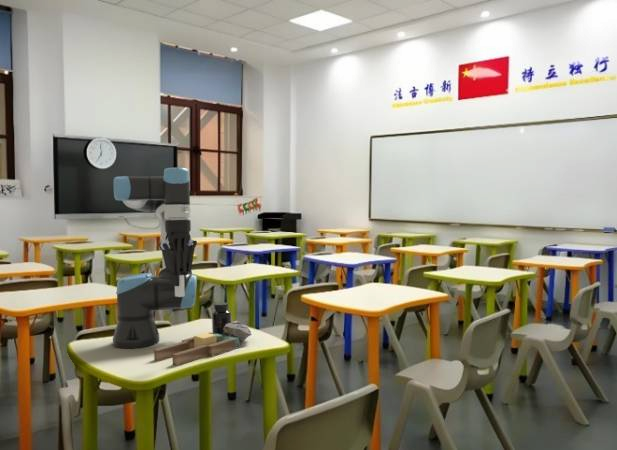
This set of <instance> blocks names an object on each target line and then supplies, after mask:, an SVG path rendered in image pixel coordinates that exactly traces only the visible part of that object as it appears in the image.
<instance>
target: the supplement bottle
mask: <svg viewBox="0 0 617 450" xmlns="http://www.w3.org/2000/svg"><path fill="white" fill-rule="evenodd" d="M213 309H214V311H213V312H212V313H211V325H212V326H211V329H212V330H211V331H212V333H215V334H220V335H223V328H224V326H225V325H226V324H229V323H232V322H233V319H232V312H231V311H230V310H229V303H228V302H216V303H214V308H213Z"/></svg>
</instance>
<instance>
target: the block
mask: <svg viewBox="0 0 617 450" xmlns="http://www.w3.org/2000/svg"><path fill="white" fill-rule="evenodd" d="M210 333H211V332H210ZM210 333H209V332H205V333H200V334H196V335H194V336H193V337H194V348H195V347H198V346H202V345H206V346H208V345H211V344H215V343H217V342H216V335H214V334H210Z"/></svg>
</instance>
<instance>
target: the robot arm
mask: <svg viewBox="0 0 617 450" xmlns="http://www.w3.org/2000/svg"><path fill="white" fill-rule="evenodd" d="M190 180H191V178H190V170H189V168H186V167H166V168H164V171H163V176H129V175H128V176H127V175H123V176H115V177H114V178H113V197H114V199H115V201H122V203H123V204H124V205H125V206H126V207H128V208H129V209H133V210H136V211H139V212H146V213H151V212H155V216H156V217H158V219H159V220H160V221H159V222H160V241H161V242H160V243H159V244H158V247H159V249H160V250H161V260H162V261H161V262H162V269H160V270H159V271H158V276H154V275H153V273H152V272H143V273H135V274H130V275H127V276H124V277H121V278H119V279H118V280H117V282H116V292H115V293H116V294H115V295H116V299H117V300H116V302H117V303H116V307H117V308H116V310H117V311H116V312H117V323H116V326H115V329H114V333H113V336H112V346H113V347H114V348H119V349H138V348H139V349H140V348H144V347H149V346H153V345H156V344H157V343H159V341H160V333H159V330H158V327H157V325H156V321H155V320H154V312H157V311H169V310H183V309H191V308H192V307H194V306H195V304H196V303H195V302H196V296H197V282H198V281H197V280H198V279H197V278H198V277H197V274H194V273H193V270H192V267H193V261H194V254H195V253H194V252H195V248H196V247H197V245H198V241H197V240H194V239H192V236H191V234H190V232H191V229H192V226H191V225H192V224H191V219H189V218H191V202H190V200H191V199H190V196H191V195H190V194H191V193H190V191H191V190H190V189H191V188H190V187H191V186H190Z"/></svg>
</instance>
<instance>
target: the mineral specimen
mask: <svg viewBox="0 0 617 450" xmlns="http://www.w3.org/2000/svg"><path fill="white" fill-rule="evenodd" d="M223 335H225V336H231V337H236V338H239V344H240V343H241V342H243V341H246V339H248V338H249V337H251V336H252V331H251V329H250V328H249V326H248V325H246V324H243V323H242V322H241V321H239V320H235V321H232V323H229V324H226V325H225V326H224V328H223Z"/></svg>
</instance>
